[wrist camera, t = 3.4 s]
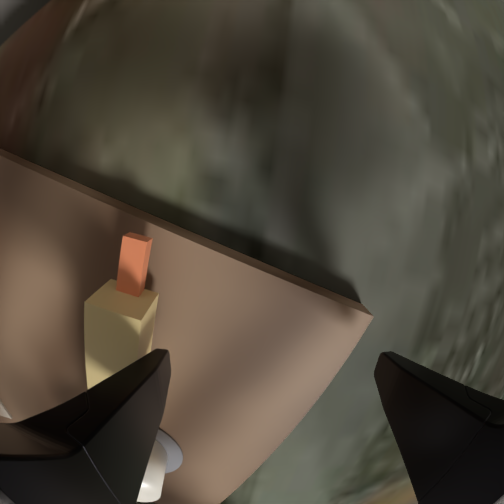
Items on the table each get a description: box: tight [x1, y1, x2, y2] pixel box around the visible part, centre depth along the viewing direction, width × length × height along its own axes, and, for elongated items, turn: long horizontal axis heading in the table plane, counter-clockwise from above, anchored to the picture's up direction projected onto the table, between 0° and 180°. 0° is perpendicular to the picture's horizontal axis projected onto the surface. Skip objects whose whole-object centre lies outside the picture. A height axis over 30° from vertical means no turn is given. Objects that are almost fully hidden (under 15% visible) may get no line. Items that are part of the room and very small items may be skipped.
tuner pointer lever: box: [84, 232, 168, 502], centre depth 9 cm, size 14×4×3 cm, turn 165°
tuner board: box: [0, 149, 374, 504], centre depth 11 cm, size 22×20×1 cm
